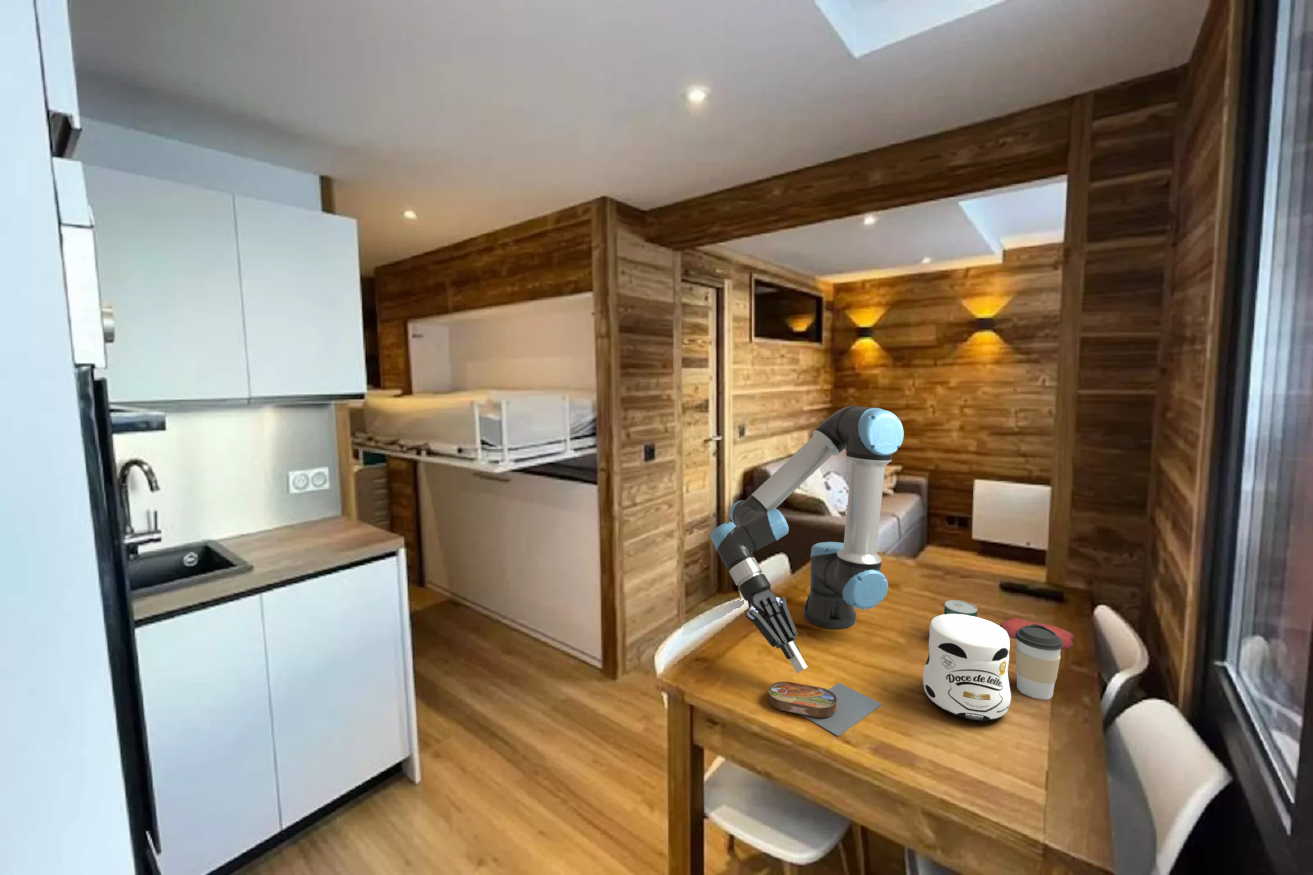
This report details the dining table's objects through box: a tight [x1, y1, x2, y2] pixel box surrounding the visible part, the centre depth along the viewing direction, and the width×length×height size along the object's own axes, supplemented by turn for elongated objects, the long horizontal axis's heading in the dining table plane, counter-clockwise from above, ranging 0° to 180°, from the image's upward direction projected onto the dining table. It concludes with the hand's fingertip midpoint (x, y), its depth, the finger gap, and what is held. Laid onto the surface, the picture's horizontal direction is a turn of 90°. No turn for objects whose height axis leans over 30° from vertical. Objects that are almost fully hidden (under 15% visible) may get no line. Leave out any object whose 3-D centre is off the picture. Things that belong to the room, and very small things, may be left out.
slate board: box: [799, 682, 883, 737], centre depth 125 cm, size 11×17×1 cm, turn 128°
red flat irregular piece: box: [999, 617, 1075, 649], centre depth 158 cm, size 18×14×2 cm
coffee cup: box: [1015, 624, 1063, 700], centre depth 130 cm, size 9×9×15 cm
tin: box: [767, 681, 837, 718], centre depth 126 cm, size 15×3×8 cm
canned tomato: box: [943, 599, 978, 617], centre depth 152 cm, size 8×8×11 cm
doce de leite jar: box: [922, 613, 1012, 722], centre depth 125 cm, size 17×17×18 cm
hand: (802, 670), depth 130 cm, fingers closed
